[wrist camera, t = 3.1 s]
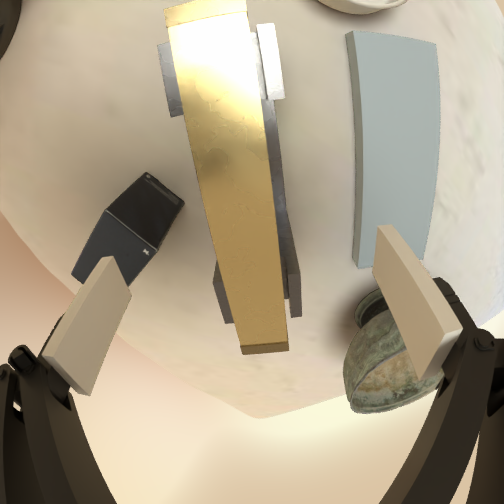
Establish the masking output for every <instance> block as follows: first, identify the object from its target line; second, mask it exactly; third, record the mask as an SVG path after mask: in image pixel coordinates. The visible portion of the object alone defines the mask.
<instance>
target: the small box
mask: <svg viewBox="0 0 504 504" xmlns="http://www.w3.org/2000/svg"><path fill="white" fill-rule="evenodd" d="M183 205H184V201H182V199H180V198H179V197H177V196H176V195H175V194H173V193H172V192H171V191H170V190H168V189H167V188H166V187H165V186H164V185H162V184H161V183H160V182H159V181H158V180H157V179H155V178H154V177H153V176H151V175H150V174H149V173H147V172H145V173H144V174H143V175H142V176H141V177H140V178H138V179H137V180H136V181H135V182H134V183H133V184H132V185H131V186H130V187H129V188H128V189H126V190H125V191H124V192H123V193H122V194H121V195H120V196H119V197H118V198H117V199H116V200H115V201H114V202H113V203H112V204H111V205H110V206H109V207H108V208H107V209H105V211H104V212H103V214H102V216H101V217H100V219H99V221H98V223H97V224H96V226H95V228H94V230H93V232H92V234H91V235H90V237H89V239H88V241H87V243H86V245H85V247H84V249H83V251H82V253H81V255H80V256H79V258H78V260H77V262H76V264H75V267H74V269H73V271H72V273H71V275H72V276H73V277H75V278H76V279H77V280H78V281H80V282H81V283H82V284H84V283H85V281H86V280H87V278H88V277H89V275H90V274H91V272H92V271H93V269H94V268H95V267H96V265H97V264H98V262H99V261H100V260H101V258H102V257H109V256H113V257H114V259H115V261H116V263H117V265H118V268H119V270H120V272H121V274H122V276H123V278H124V280H125V283H126V285H127V287H129V286H130V284H131V283H132V282H133V281H134V279H135V278H136V277H137V276H138V274H139V273H140V272H141V271H142V270H143V268H144V267H145V266H146V265H147V264H148V262H149V261H150V260H151V259H152V258H153V256H154V255H155V254H156V253H157V251H158V250H159V248H160V246H161V244H162V242H163V240H164V238H165V236H166V234H167V232H168V231H169V229H170V227H171V225H172V223H173V221H174V220H175V218H176V216H177V214H178V213H179V211H180V210H181V208H182V207H183Z"/></svg>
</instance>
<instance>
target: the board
mask: <svg viewBox="0 0 504 504" xmlns="http://www.w3.org/2000/svg"><path fill="white" fill-rule="evenodd" d="M345 35H346V42H347V49H348V56H349V64H350V73H351V83H352V94H353V107H354V124H355V151H356V199H355V226H354V244H353V260H354V262H355V264H356V266H357V268H358V269H360V268H367V267H373V263H374V255H375V246H376V237H377V226H379V225H389V224H392V225H393V226H394V228H395V229H396V230H397V231H398V233H399V234H400V235H401V237H402V238H403V239H404V240H405V242H406V243H407V244H408V246H409V247H410V248H411V250H412V251H413V252H414V254H415V255H416V256H417V258H418V259H419V260H423V256H424V252H425V247H426V243H427V238H428V233H429V228H430V222H431V216H432V210H433V204H434V197H435V189H436V181H437V172H438V160H439V145H440V83H439V68H438V58H437V49H436V44H434V43H430V42H426V41H421V40H417V39H412V38H406V37H401V36H395V35H388V34H381V33H372V32H362V31H351V32H349V33H347V34H345Z"/></svg>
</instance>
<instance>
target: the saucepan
mask: <svg viewBox="0 0 504 504" xmlns="http://www.w3.org/2000/svg"><path fill="white" fill-rule="evenodd" d="M318 1H320V2H321V3H323V4H325V5H327V6H329V7H331V8H333V9H336V10H338V11H341V12H345V13H350V14H360V15H361V14H370V13H374V12H377V11H379V10H381V9H389V8H394V7H398V6H400V5H402V4H404V3H405V2H406V1H407V0H318Z"/></svg>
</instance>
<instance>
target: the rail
mask: <svg viewBox="0 0 504 504" xmlns="http://www.w3.org/2000/svg"><path fill="white" fill-rule="evenodd" d="M164 14H165V20H166V27H167V28H168V30H169V36H170V42H171V48H172V54H173V60H174V65H175V71H176V76H177V81H178V87H179V92H180V97H181V102H182V107H183V112H184V117H185V122H186V127H187V132H188V137H189V141H190V146H191V151H192V155H193V160H194V164H195V169H196V173H197V178H198V182H199V186H200V191H201V195H202V199H203V204H204V208H205V212H206V216H207V220H208V224H209V228H210V233H211V237H212V241H213V245H214V249H215V252H216V256H217V260H218V264H219V268H220V272H221V276H222V279H223V283H224V287H225V291H226V294H227V298H228V302H229V305H230V309H231V313H232V316H233V320H234V323H235V327H236V331H237V334H238V338H239V341H240V348H241V351H242V354H243V355H248V354H261V353H273V352H283V351H289V344H288V334H287V324H286V314H285V304H284V293H283V283H282V273H281V263H280V253H279V244H278V234H277V225H276V216H275V208H274V199H273V191H272V183H271V175H270V167H269V159H268V151H267V144H266V136H265V129H264V122H263V115H262V108H261V101H260V94H259V87H258V81H257V74H256V68H255V61H254V55H253V49H252V43H251V37H250V31H249V25H248V16H247V8H246V3H245V0H197V1H193V2H189V3H185V4H181V5H177V6H173V7H170V8H166V9H164Z"/></svg>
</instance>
